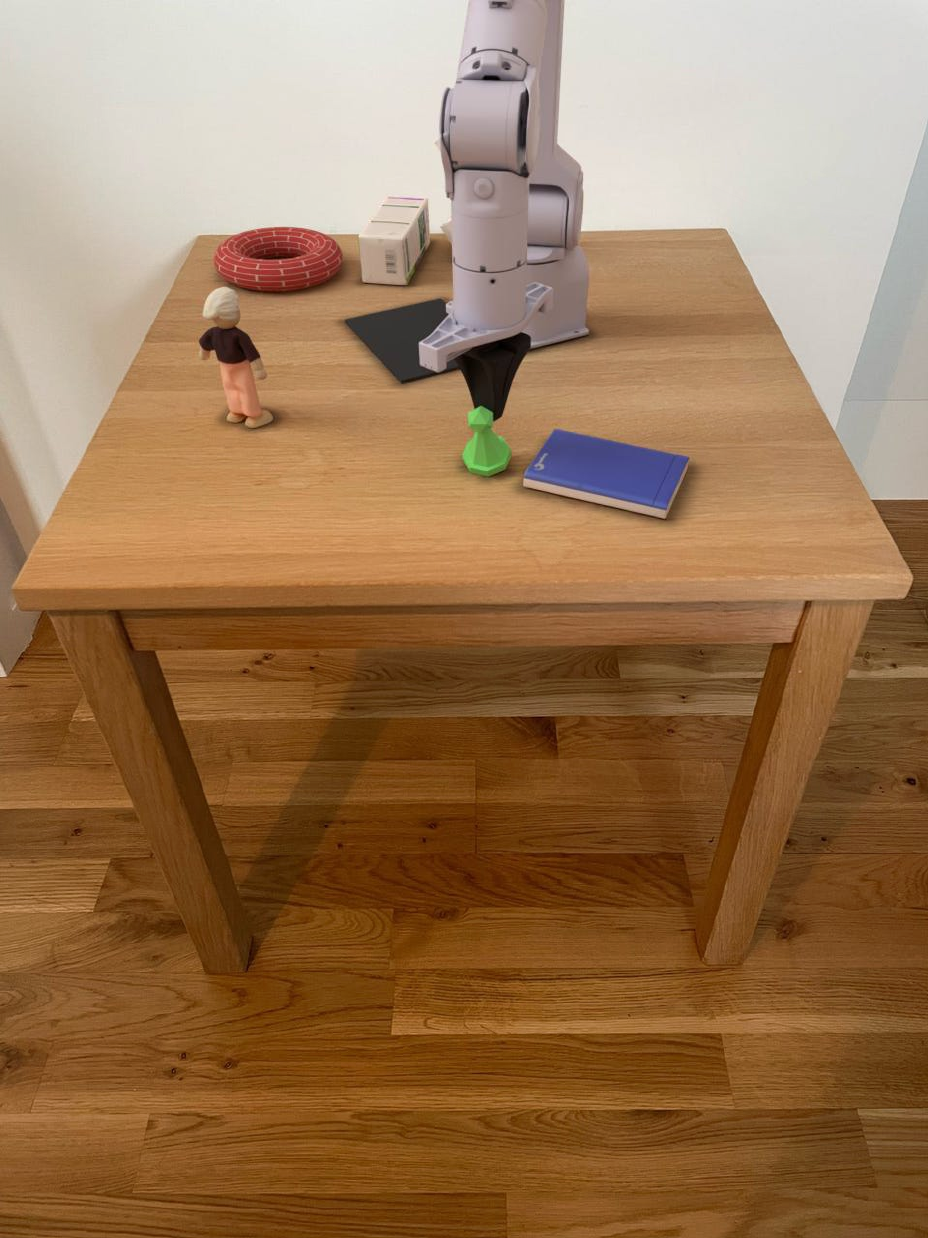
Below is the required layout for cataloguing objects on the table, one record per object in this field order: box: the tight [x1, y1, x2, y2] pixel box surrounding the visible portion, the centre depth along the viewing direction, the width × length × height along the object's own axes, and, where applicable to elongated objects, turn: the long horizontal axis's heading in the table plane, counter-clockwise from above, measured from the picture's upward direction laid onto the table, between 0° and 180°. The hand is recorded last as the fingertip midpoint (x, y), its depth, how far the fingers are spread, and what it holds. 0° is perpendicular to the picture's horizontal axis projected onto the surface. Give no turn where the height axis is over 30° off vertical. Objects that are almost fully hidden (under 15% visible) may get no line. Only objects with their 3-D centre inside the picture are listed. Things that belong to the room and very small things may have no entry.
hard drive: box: [522, 428, 690, 520], centre depth 79 cm, size 2×8×12 cm
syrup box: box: [357, 195, 431, 286], centre depth 114 cm, size 6×6×14 cm
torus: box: [213, 226, 344, 292], centre depth 113 cm, size 16×14×4 cm
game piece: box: [461, 406, 512, 478], centre depth 79 cm, size 4×4×6 cm
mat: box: [344, 297, 460, 384], centre depth 100 cm, size 12×16×1 cm
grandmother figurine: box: [198, 286, 274, 429], centre depth 84 cm, size 8×4×13 cm, turn 71°
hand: (488, 415), depth 79 cm, fingers closed
